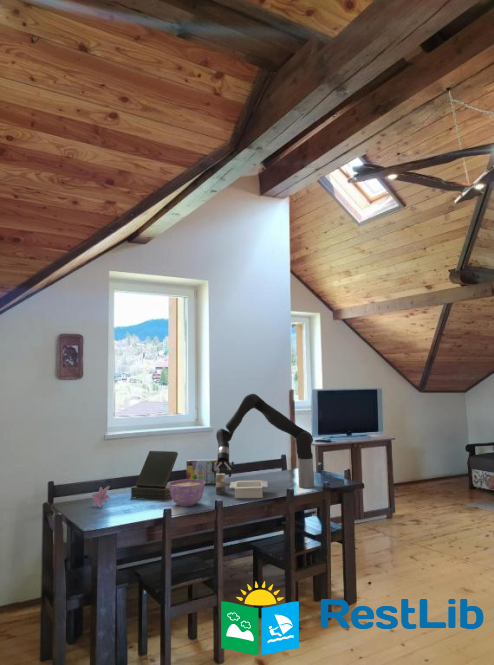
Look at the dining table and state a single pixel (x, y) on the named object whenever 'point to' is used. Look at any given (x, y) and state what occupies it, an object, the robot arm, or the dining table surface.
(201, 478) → the snack box
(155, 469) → the tilted panel on base
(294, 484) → the dining table surface
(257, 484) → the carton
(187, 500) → the bowl of food
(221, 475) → the block
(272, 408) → the robot arm
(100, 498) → the lily
